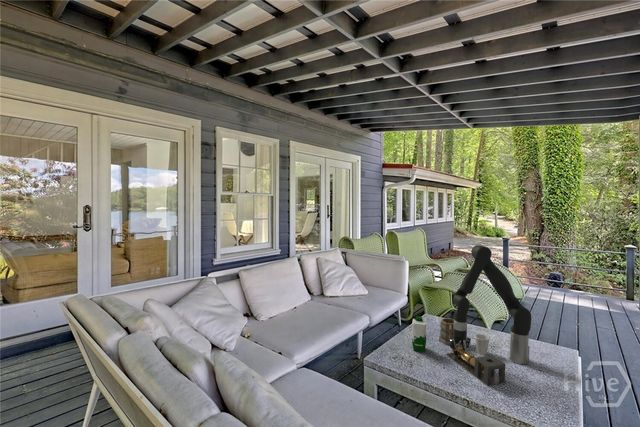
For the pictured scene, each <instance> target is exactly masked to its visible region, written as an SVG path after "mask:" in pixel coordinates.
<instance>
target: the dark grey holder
mask: <svg viewBox="0 0 640 427" xmlns="http://www.w3.org/2000/svg"><path fill="white" fill-rule="evenodd" d="M445 356H447V357H448V358H450V359H451V360H452V361H453V362H455V363H456V364H457V365H459V366H460V367H461V368H463V370H465V371H466V372H468V373H469V374H470V375H471V376H473V377H475V378H476V379H477V380H478V381H480V382H481V383H482V384H484V386H487V387H491V386H496V385H497V386H498V385H503V384H507V382H506V363H504V362H503V361H502V360H500V359H498V358H497V357H496V356H493V355H483V356H479V357H475V368H474V367H473V366H471V365H470V364H469V363H467V362H466V361H465V360H463V359H462V358H460V357H459V356H458V355H457V356H455V355H454V353H453V352H450V353H445ZM481 364H483V365H484V366H485V368H484V370H483V371H481ZM495 371H498V373H497V374H496V373H495Z"/></svg>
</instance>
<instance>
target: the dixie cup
mask: <svg viewBox="0 0 640 427" xmlns="http://www.w3.org/2000/svg"><path fill="white" fill-rule="evenodd" d="M474 337H475V338H474V339H475V347H476V348H475V349H476V354H479V355H483V356H486V355H487V354H488V348H489V342H490V336H488V335H485V334H482V333H481V334H480V333H478V334H475V335H474Z"/></svg>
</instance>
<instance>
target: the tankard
mask: <svg viewBox="0 0 640 427" xmlns="http://www.w3.org/2000/svg"><path fill="white" fill-rule="evenodd" d="M439 323H440V324H439V326H440V327H439V328H440V330H439V333H440V334H439V335H438V341H439V342H440V343H442V344H444V345H448V346H450V342H449V339H453V338H454V334H453V331H454V318H451V317H450V318H448V317H444V318H441V321H440V322H439Z"/></svg>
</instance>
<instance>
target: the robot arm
mask: <svg viewBox="0 0 640 427" xmlns="http://www.w3.org/2000/svg"><path fill="white" fill-rule="evenodd" d="M470 253H471V256H472V258H473V259H474V262H473V264H472V266H471V267H470V269H469V270H468V271H467V272H466V274H465V276H464V277H463V279H462V282H461V284H460V286H459V287H458V289H457V291H456V292H455V293H454V294H453V298H452V302H453V304H454V305H455V306H456V307H457V309H456V310H455V311H454V315H453V316H454V318H453V319H454V331H453V334H454V338H453V339H449V342H450V345H449V347H450V349H451V350H452V349H453V350H454V355H455V356H457V352H458V351H457V349H458V347H460V346H461V348H462V349H463V350H465V351H466V352H467V349H468V348H470V345H471V340H472V339H471V338H470V337H469V336H468V323H467V322H468V313H469V310H470V300H469V299H468V298H467V295H470V294H472V293H473V290H474V289H475V286H476V284H477V282H478V279H479V277H480V275H481V274H482V272H484V274H485V276H486V278H487V280H488V281H489V283H490V284H491V286H492V287H493V289H494V291H495V293H496V294H497V295H498V296H499V297H500V299H501V300H502V302H503V303H504V304H505V307H506V309H507V311H508V312H509V314H510V316H511V317H512V318H513V325H511V326H510V335H509V336H510V340H509V341H510V342H509V360H510V361H511V362H513V363H515V364H519V365H526V364H528V363H529V362H530V348H531V347H530V346H529V339H530V338H529V337H530V336H529V335H530V331H531V327H532V313H531V311H530V310H529V309H528V308H526V307H525V306H524V305H523V303H521V302H520V301H519V299H518V298H517V296H516V295H515V293H514V289H513V286H512V284H511V282H510V281H509V279H508V278H507V276H506V274H504V272H502V270H501V269H500V268H499V267H497V265H496V264H494V262H493V260H492V259H491V258H492V253H493V252H492V250H491V249H490V247H487V246H485V245H482V244H477V245H474V246H473V247H472V248H471V252H470ZM455 347H456V348H455Z"/></svg>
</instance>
